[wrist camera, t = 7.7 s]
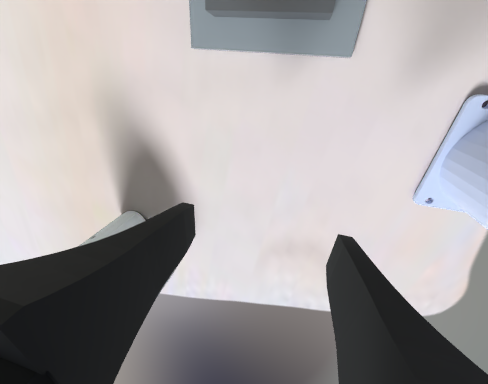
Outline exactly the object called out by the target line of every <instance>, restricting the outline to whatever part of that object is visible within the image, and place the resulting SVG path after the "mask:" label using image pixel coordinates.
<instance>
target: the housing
mask: <svg viewBox="0 0 488 384" xmlns="http://www.w3.org/2000/svg"><path fill="white" fill-rule="evenodd" d="M366 1H367V0H189V6H190V27H191V48H194V49H206V50H223V51H241V52H258V53H275V54H292V55H309V56H326V57H343V58H350V57H351V56H352V53H353V49H354V45H355V42H356V38H357V34H358V31H359V27H360V23H361V20H362V16H363V12H364V8H365V5H366Z"/></svg>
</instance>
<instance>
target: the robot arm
mask: <svg viewBox="0 0 488 384" xmlns="http://www.w3.org/2000/svg"><path fill="white" fill-rule="evenodd" d="M486 100H488V95H483V94H476V95H473V96H471V97H469V98H468V99H467V100H466V101H465V103H464V105H463V106H462V108H461V110H460V112H459V114H458V116H457V117H456V119H455V121H454V123H453V125H452V127H451V128H450V130H449V132H448V134H447V136H446V138H445V139H444V141H443V143H442V145H441V147H440V148H439V150H438V152H437V154H436V156H435V158H434V159H433V161H432V163H431V165H430V167H429V169H428V170H427V172H426V174H425V176H424V178H423V180H422V181H421V183H420V185H419V187H418V189H417V190H416V192H415V194H414V196H413V201H414V202H415V203H416V204H418V205H424V206H430V207H436V208H442V209H448V210H454V211H460V212H466V213H467V214H469V215H470V216H471V217H472V218H474V219H475V220H476V221H477V222H478V223H480V224H481V225H482V226H483V227H485V228H486V229H487V230H488V104H487V105H486V106H485V107H483V108H482V104H483V103H484V102H485V101H486ZM428 198H431V199H430V200H429V201H426V199H428ZM194 237H195V218H194V205H193V204H188V203H181V204H179V205H176V206H174V207H172V208H170V209H168V210H166V211H164V212H162V213H160V214H158V215H156V216H154V217H152V218H150V219H148V220H146V221H144V222H142V223H140V224H137V225H135V226H133V227H131V228H129V229H126V230H124V231H122V232H119V233H117V234H114V235H111V236H109V237H106V238H103V239H100V240H98V241H95V242H91V243H88V244H85V245H82V246H78V247H75V248H72V249H69V250H65V251H61V252H57V253H54V254H50V255H45V256H41V257H37V258H33V259H28V260H24V261H19V262H13V263H8V264H3V265H0V384H113V383H114V381H115V378H116V376H117V374H118V372H119V370H120V367H121V365H122V363H123V361H124V359H125V357H126V355H127V353H128V351H129V349H130V347H131V345H132V343H133V340H134V339H135V337H136V335H137V333H138V331H139V329H140V327H141V325H142V323H143V321H144V319H145V318H146V316H147V314H148V312H149V310H150V308H151V307H152V305H153V303H154V301H155V299H156V298H157V296H158V294H159V293H160V291H161V289H162V288H163V286H164V285H165V283H166V282H167V281H168V279H169V278H170V276H171V275H172V273H173V272H174V270H175V269H176V267H177V266H178V264H179V263H180V261H181V260H182V258H183V257H184V255H185V254H186V252H187V251H188V249H189V247H190V245H191V243H192V241H193V239H194ZM326 276H327V290H328V296H329V303H330V309H331V315H332V321H333V327H334V333H335V340H336V348H337V362H338V377H339V384H488V374H486V373H485V372H484V371H483V370H481V369H480V368H479V367H478V366H477V365H475V364H474V363H473V362H472V361H471V360H470V359H469V358H467V357H466V356H465V355H464V354H463V353H462V352H461V351H459V350H458V349H457V348H456V347H455V346H453V345H452V344H451V343H450V342H449V341H448V340H447V339H446V338H444V337H443V336H442V335H441V334H440V333H439V332H438V331H437V330H436V329H435V328H434V327H433V326H431V324H430V323H429V322H427V321H426V320H425V319H424V318H423V317H422V316H421V315H420V314H419V313H418V312H417V311H416V310H415V309H414V308H413V307H412V306H411V305H410V304H409V303H408V302H407V301H406V300H405V299H404V297H403V296H402V295H401V294H400V293H399V292H398V291H397V290H396V289H395V288H394V287H393V286H392V284H391V283H390V282H389V281H388V280H387V279H386V278H385V276H384V275H383V274H382V273H381V272H380V271H379V269H378V268H377V267H376V266H375V265H374V263H373V262H372V261H371V260H370V258H369V257H368V256H367V255H366V253H365V252H364V251H363V250H362V248H361V247H360V246H359V245H358V243H357V242H356V241H355V240H354V239H353V237H349V236H344V235H339V234H338V236H337V239H336V241H335V244H334V247H333V249H332V252H331V254H330V257H329V259H328V262H327V265H326Z"/></svg>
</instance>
